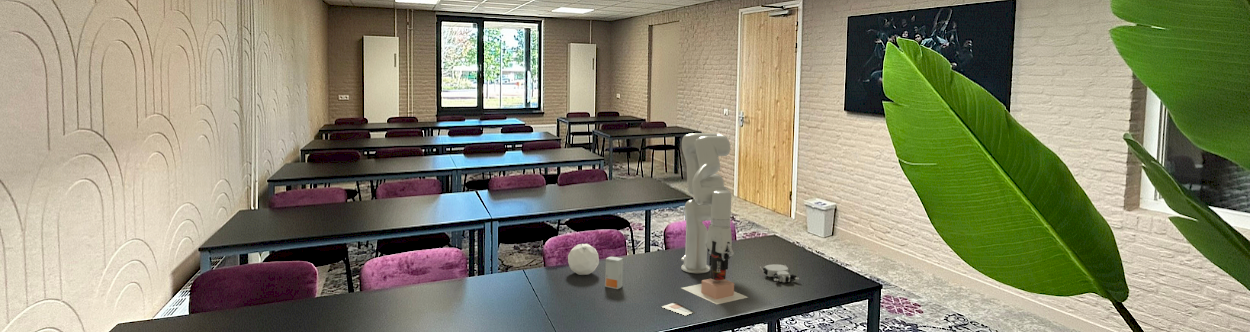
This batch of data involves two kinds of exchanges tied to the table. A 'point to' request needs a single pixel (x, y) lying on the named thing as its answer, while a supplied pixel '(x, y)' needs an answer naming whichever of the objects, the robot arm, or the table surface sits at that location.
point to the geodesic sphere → (583, 259)
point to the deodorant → (716, 264)
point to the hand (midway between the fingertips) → (718, 266)
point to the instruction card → (678, 309)
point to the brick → (717, 288)
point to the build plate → (697, 291)
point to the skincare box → (614, 272)
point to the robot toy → (779, 273)
